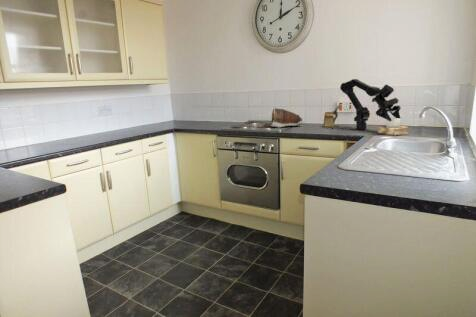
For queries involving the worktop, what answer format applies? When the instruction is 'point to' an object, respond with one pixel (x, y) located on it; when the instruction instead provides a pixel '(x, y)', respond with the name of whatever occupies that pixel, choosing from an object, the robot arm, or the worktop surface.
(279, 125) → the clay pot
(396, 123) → the white crate
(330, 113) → the wooden mug
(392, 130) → the pine crate
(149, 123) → the worktop surface
